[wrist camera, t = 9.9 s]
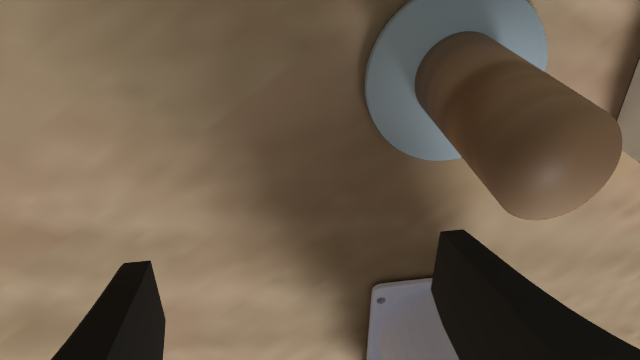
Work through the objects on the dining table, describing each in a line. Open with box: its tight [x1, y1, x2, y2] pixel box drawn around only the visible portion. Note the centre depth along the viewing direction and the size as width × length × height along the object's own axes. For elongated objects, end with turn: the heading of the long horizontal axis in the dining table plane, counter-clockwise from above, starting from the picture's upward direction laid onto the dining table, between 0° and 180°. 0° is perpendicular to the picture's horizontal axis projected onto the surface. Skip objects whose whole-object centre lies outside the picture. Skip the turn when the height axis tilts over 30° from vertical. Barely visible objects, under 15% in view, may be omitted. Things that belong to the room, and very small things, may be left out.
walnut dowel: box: [415, 31, 622, 220], centre depth 18 cm, size 4×4×8 cm
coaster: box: [364, 0, 547, 161], centre depth 21 cm, size 8×8×1 cm
